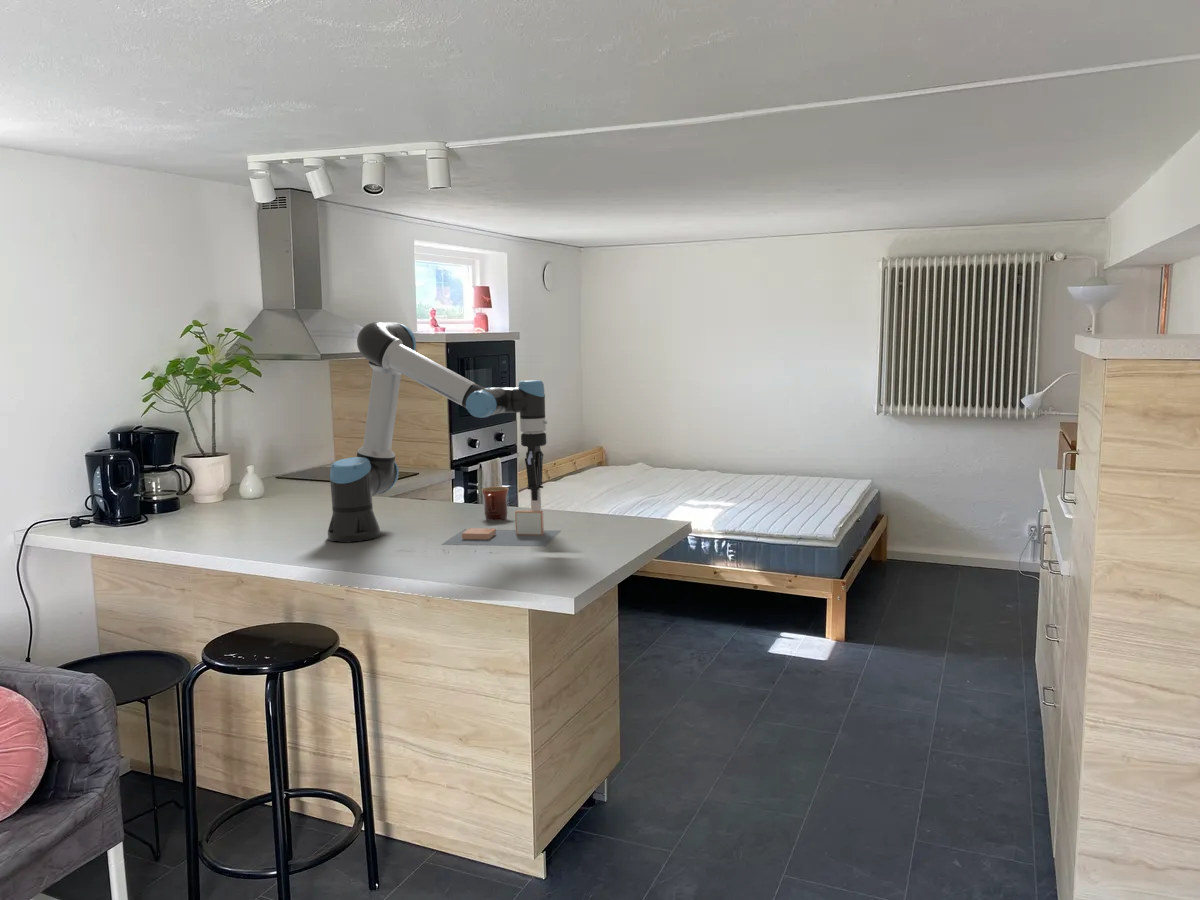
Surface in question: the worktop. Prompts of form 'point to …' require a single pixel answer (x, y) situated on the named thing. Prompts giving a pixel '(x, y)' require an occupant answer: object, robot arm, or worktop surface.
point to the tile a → (478, 533)
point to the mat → (506, 539)
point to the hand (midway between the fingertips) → (536, 510)
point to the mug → (495, 503)
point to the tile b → (529, 522)
